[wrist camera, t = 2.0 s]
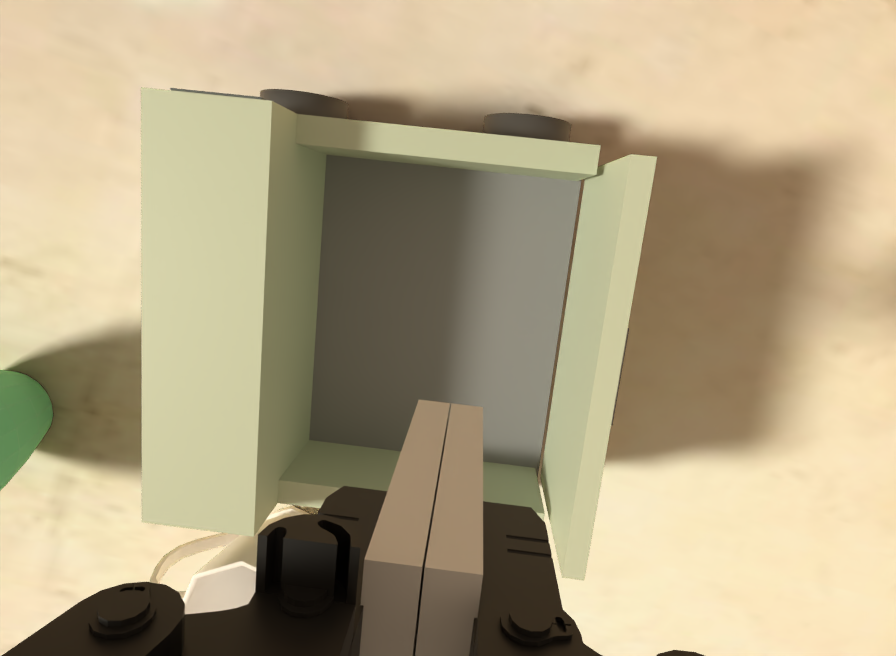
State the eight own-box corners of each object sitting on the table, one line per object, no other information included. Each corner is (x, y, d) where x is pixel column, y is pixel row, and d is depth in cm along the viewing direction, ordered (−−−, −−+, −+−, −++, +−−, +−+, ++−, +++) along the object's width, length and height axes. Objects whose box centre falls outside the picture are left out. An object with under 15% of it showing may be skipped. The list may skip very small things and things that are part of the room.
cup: (345, 589, 38) (309, 689, 30) (196, 576, 38) (122, 671, 31) (347, 490, 37) (310, 568, 29) (192, 478, 37) (114, 550, 29)
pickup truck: (254, 100, 32) (141, 44, 21) (579, 133, 32) (629, 93, 21) (242, 452, 36) (141, 552, 26) (528, 487, 36) (547, 606, 25)
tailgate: (585, 171, 29) (630, 154, 20) (611, 174, 29) (667, 157, 20) (540, 477, 32) (562, 577, 24) (562, 480, 32) (592, 581, 24)
